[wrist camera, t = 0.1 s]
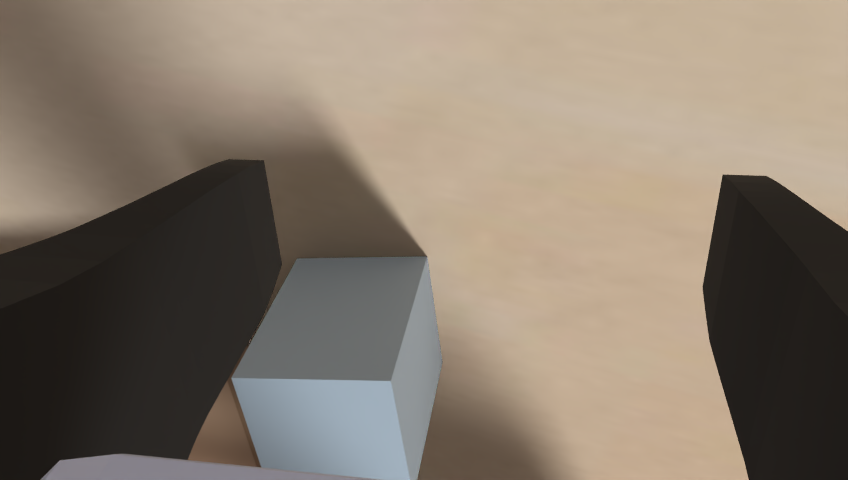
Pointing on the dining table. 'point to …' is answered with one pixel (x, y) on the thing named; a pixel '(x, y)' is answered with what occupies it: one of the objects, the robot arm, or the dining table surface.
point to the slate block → (344, 369)
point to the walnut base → (226, 432)
